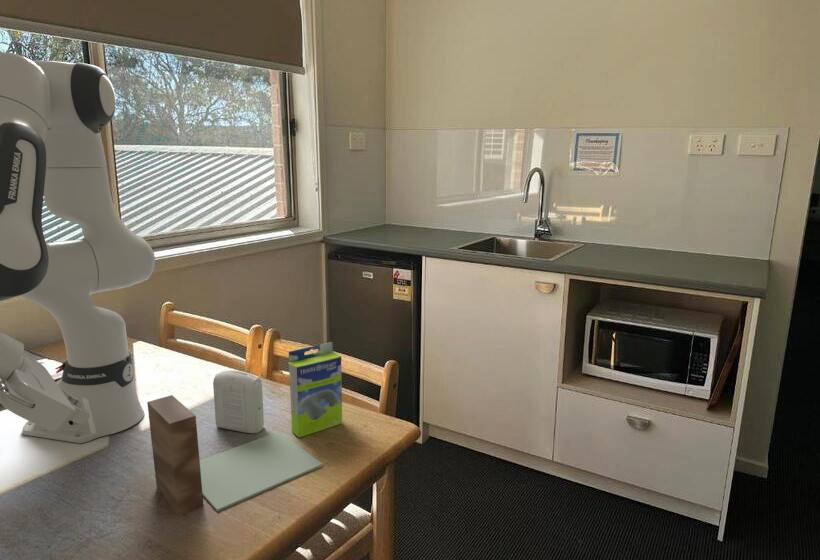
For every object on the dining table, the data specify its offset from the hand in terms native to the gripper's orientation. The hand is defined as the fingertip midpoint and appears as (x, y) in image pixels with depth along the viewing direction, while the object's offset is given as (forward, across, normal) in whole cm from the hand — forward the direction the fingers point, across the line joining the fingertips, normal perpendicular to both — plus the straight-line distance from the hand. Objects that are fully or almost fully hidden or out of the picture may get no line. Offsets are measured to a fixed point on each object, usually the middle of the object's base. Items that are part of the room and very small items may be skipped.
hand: (81, 412), depth 81 cm
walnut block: (+22, 0, +5) cm, 23 cm away
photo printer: (+36, +16, -8) cm, 40 cm away
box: (+44, +5, -16) cm, 47 cm away
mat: (+32, 0, -4) cm, 32 cm away
